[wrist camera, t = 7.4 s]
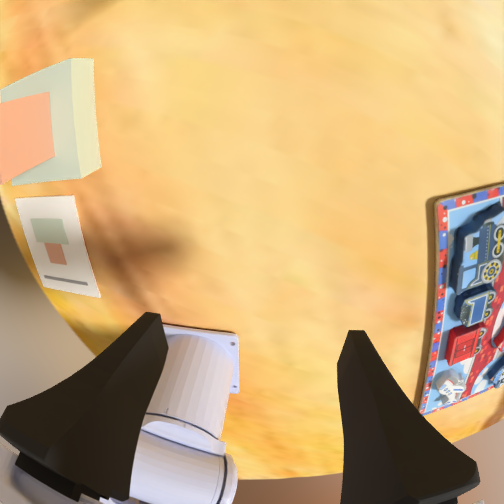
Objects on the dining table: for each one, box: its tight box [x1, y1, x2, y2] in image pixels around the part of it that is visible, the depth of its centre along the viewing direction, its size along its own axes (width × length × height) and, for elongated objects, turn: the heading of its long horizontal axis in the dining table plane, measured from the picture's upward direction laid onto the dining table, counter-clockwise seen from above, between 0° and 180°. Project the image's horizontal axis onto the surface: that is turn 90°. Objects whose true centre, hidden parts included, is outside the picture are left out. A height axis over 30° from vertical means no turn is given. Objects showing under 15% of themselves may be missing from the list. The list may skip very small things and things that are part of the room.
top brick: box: [0, 92, 55, 185], centre depth 12 cm, size 4×4×5 cm
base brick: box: [0, 58, 101, 186], centre depth 16 cm, size 8×8×3 cm
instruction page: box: [15, 195, 101, 298], centre depth 22 cm, size 10×8×1 cm
